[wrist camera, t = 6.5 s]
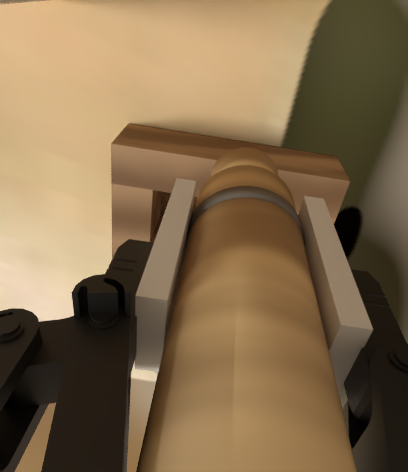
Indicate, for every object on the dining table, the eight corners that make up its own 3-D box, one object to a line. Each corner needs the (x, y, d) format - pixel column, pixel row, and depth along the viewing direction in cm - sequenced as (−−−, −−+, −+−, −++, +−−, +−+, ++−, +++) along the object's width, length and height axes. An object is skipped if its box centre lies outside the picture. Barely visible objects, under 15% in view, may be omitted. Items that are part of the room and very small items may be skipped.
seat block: (128, 123, 32) (111, 143, 28) (336, 156, 32) (350, 181, 28) (126, 238, 39) (112, 268, 35) (299, 265, 39) (305, 299, 35)
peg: (205, 130, 17) (119, 456, 5) (298, 143, 17) (423, 502, 5) (196, 211, 19) (123, 561, 7) (278, 222, 19) (332, 593, 7)
